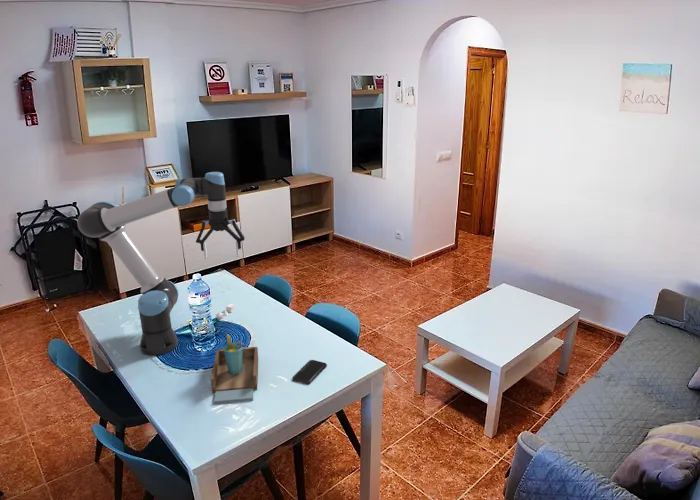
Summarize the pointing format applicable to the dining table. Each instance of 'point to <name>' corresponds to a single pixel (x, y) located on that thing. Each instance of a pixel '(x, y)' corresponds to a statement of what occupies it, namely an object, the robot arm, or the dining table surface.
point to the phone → (309, 372)
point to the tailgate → (233, 395)
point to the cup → (233, 356)
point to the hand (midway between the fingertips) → (222, 256)
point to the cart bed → (240, 381)
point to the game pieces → (229, 309)
